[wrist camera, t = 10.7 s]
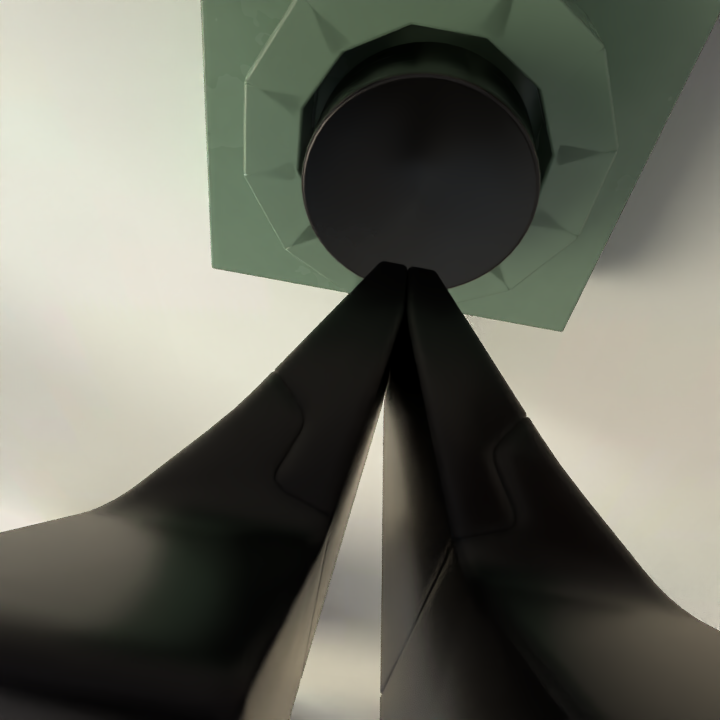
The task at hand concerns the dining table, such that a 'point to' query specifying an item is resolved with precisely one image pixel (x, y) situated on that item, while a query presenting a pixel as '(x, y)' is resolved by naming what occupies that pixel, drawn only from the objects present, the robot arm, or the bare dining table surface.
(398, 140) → the button
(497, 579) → the robot arm
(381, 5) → the button box
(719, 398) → the dining table surface
